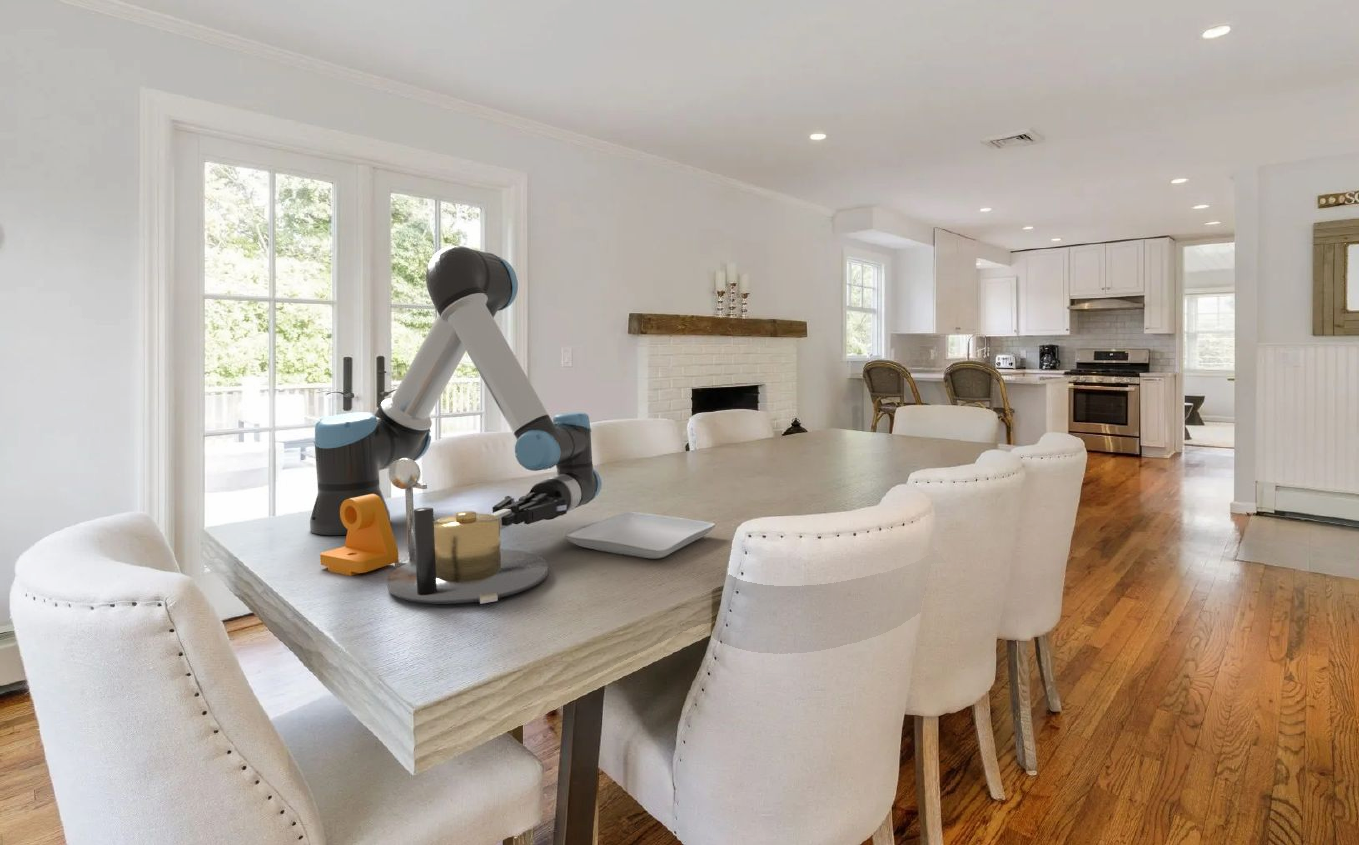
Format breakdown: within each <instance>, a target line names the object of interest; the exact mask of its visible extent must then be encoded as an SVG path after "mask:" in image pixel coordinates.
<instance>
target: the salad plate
mask: <svg viewBox="0 0 1359 845" xmlns="http://www.w3.org/2000/svg"><path fill="white" fill-rule="evenodd" d="M715 527H716V523H714V522H709V521H702V520H696V519H689V518H682V517H676V516H668V515H663V514H662V515H661V514H653V513H644V512H643V513H642V512H634V511H628V510H627V511H625V512H622V513H618V514H616V515H613V516H611V517H607V518H605V519H603V520H599V521H598V522H595V523H592V524H591V525H587V526H584V527H583V528H579V529H578V530H575V531H573V532H572V531H571V532H570V533H567V534H566V535H565V538H566V539H567V540H568V541H569V542H571V543H572V544H574V545H576V546H578V547H582V548H587V549H591V550H593V549H594V550H593V551H599V552H605V553H606V552H607V553H611V554H617V553H618V554H619V555H623V554H624V556H625V555H626V556H632V557H635V558H637V557H638V558H645V559H661V558H664V557H667V556H668V555H670V554H672V553H673V552H676V551H677V550H680V549H681V548H684V547H686V546H688V545H689V544H692V543H693V542H695V541H697V540H700V539H701V538H703V537H705V536H706V535H707V534H709V533H710V532H712V530H713V529H714V528H715Z"/></svg>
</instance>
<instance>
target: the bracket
mask: <svg viewBox="0 0 1359 845" xmlns="http://www.w3.org/2000/svg"><path fill="white" fill-rule="evenodd" d="M340 518H341V521H342V523H343V525H344V526H345V527H346V528H347V529H348V531H347V535H346V538H345V542H344V546H341V547H337V548H334V549H329V550H327V551H322V552H320V553H319V556H320V566H324V567H327V568H328V570H327V571H328V572H331V573H334V574H335V573H336V574H339V573H341V575H344V574H345V575H344V576H349V577H352V576H355V575H358V574H363V573H367V572H371V571H375V570H377V569H380V568H383V567H386V566H390V565H393V564H395V562H397V561H399V560H400V559H399V549H398V546H397V543H396V540H395V536H394V533H393V530H392V526H391V521H390V522H389V519H388V516H387V513H386V509H385V506H384V503H383V501H382V499H381V498H380V497H379V496H378V495H376V494H369V495H364V496H360V497H355V498H350V499H346V500H344V501H343V502H342V504H341V507H340Z"/></svg>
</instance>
